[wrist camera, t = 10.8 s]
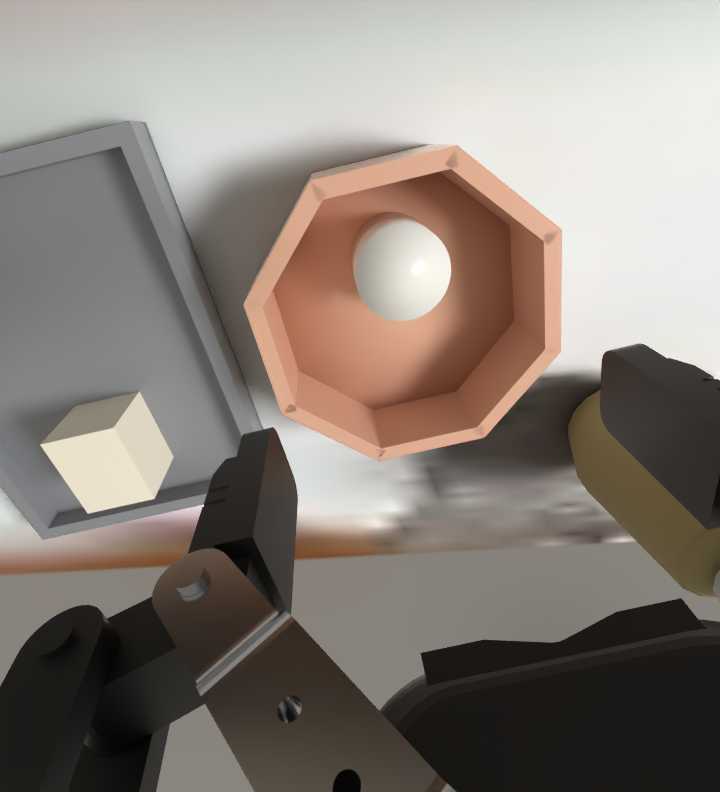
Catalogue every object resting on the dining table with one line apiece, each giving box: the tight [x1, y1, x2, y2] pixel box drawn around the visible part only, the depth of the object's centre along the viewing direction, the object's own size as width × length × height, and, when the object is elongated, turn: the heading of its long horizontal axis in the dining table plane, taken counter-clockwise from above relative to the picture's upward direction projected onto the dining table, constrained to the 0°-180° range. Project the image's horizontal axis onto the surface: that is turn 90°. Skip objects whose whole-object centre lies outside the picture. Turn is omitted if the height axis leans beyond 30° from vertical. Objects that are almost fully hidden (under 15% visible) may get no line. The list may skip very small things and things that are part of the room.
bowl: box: [243, 144, 562, 461], centre depth 24 cm, size 15×15×5 cm
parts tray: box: [0, 121, 263, 540], centre depth 26 cm, size 21×16×2 cm
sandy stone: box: [40, 391, 173, 514], centre depth 27 cm, size 5×4×4 cm
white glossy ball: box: [350, 212, 451, 321], centre depth 23 cm, size 4×4×4 cm
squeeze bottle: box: [568, 390, 720, 601], centre depth 24 cm, size 8×8×18 cm
